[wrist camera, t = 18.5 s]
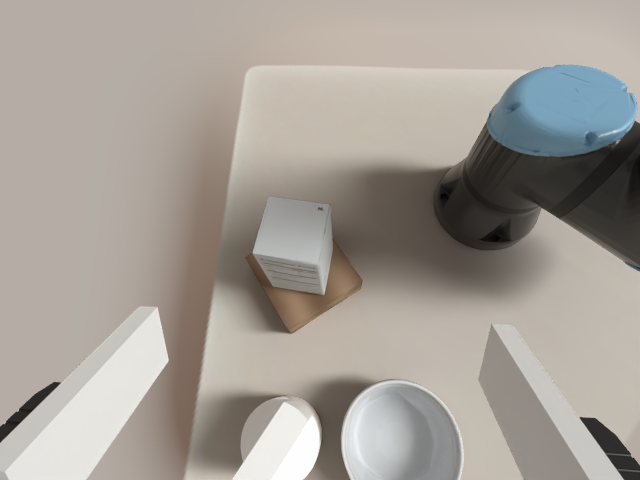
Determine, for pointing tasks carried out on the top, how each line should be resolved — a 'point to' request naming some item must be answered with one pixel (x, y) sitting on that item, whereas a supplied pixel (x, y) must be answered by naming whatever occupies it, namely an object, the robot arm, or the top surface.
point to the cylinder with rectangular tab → (280, 440)
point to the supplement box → (295, 244)
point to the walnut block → (308, 306)
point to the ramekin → (400, 435)
